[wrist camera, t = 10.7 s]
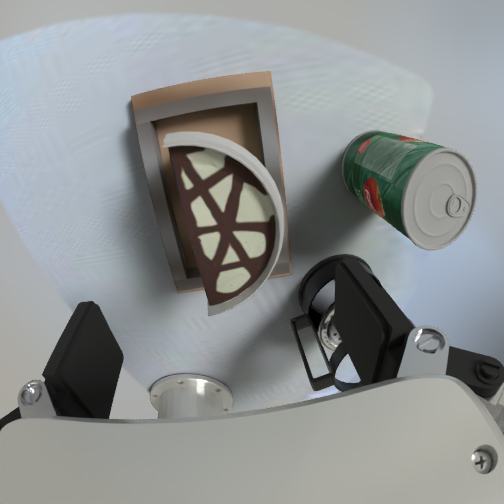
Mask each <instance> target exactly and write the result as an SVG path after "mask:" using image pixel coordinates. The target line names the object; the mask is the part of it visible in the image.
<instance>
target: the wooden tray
mask: <svg viewBox="0 0 504 504" xmlns="http://www.w3.org/2000/svg"><path fill="white" fill-rule="evenodd" d="M131 99H132V105H133V112H134V118H135V123H136V129H137V134H138V139H139V144H140V149H141V154H142V159H143V163H144V168H145V172H146V177H147V181H148V186H149V190H150V194H151V198H152V202H153V206H154V210H155V214H156V218H157V222H158V226H159V229H160V233H161V237H162V240H163V244H164V247H165V251H166V255H167V258H168V261H169V265H170V268H171V271H172V275H173V278H174V281H175V285H176V288H177V291H178V293H183V292H190V291H196V290H202V289H204V286H203V282H202V279H201V275H200V272H199V268H198V265H197V262H196V258H195V255H194V251H193V248H192V245H191V242H190V238H189V234H188V230H187V226H186V222H185V217H184V213H183V209H182V205H181V201H180V196H179V192H178V188H177V183H176V179H175V175H174V171H173V167H172V164H171V161H170V155H169V150H168V148H169V147H167V148H162V146H163V145H164V142H163V140H164V138H165V136H166V134H170V133H176V132H203V133H209V134H214V135H217V136H220V137H223V138H226V139H228V140H231V141H233V142H234V143H236V144H238V145H240V146H242V147H243V148H245V149H246V150H247V151H249V152H250V153H251V154H252V155H254V156H255V157H256V158H257V159H258V160H259V161H260V162H261V163H262V165H263V166H264V167H265V168H266V169H267V171H268V172H269V174H270V175H271V177H272V179H273V180H274V182H275V184H276V186H277V189H278V191H279V194H280V197H281V201H282V206H283V213H284V236H283V243H282V248H281V251H280V255H279V258H278V260H277V262H276V264H275V266H274V268H273V270H272V272H271V274H270V276H269V277H268V278H267V279H269V278H275V277H280V276H286V275H292V271H291V257H290V244H289V232H288V221H287V210H286V199H285V188H284V178H283V169H282V159H281V150H280V142H279V133H278V125H277V116H276V108H275V101H274V93H273V86H272V78H271V71H265V72H254V73H245V74H236V75H229V76H222V77H215V78H209V79H203V80H198V81H192V82H187V83H182V84H178V85H173V86H169V87H164V88H160V89H156V90H152V91H148V92H144V93H141V94H137V95H134V96H131Z"/></svg>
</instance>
